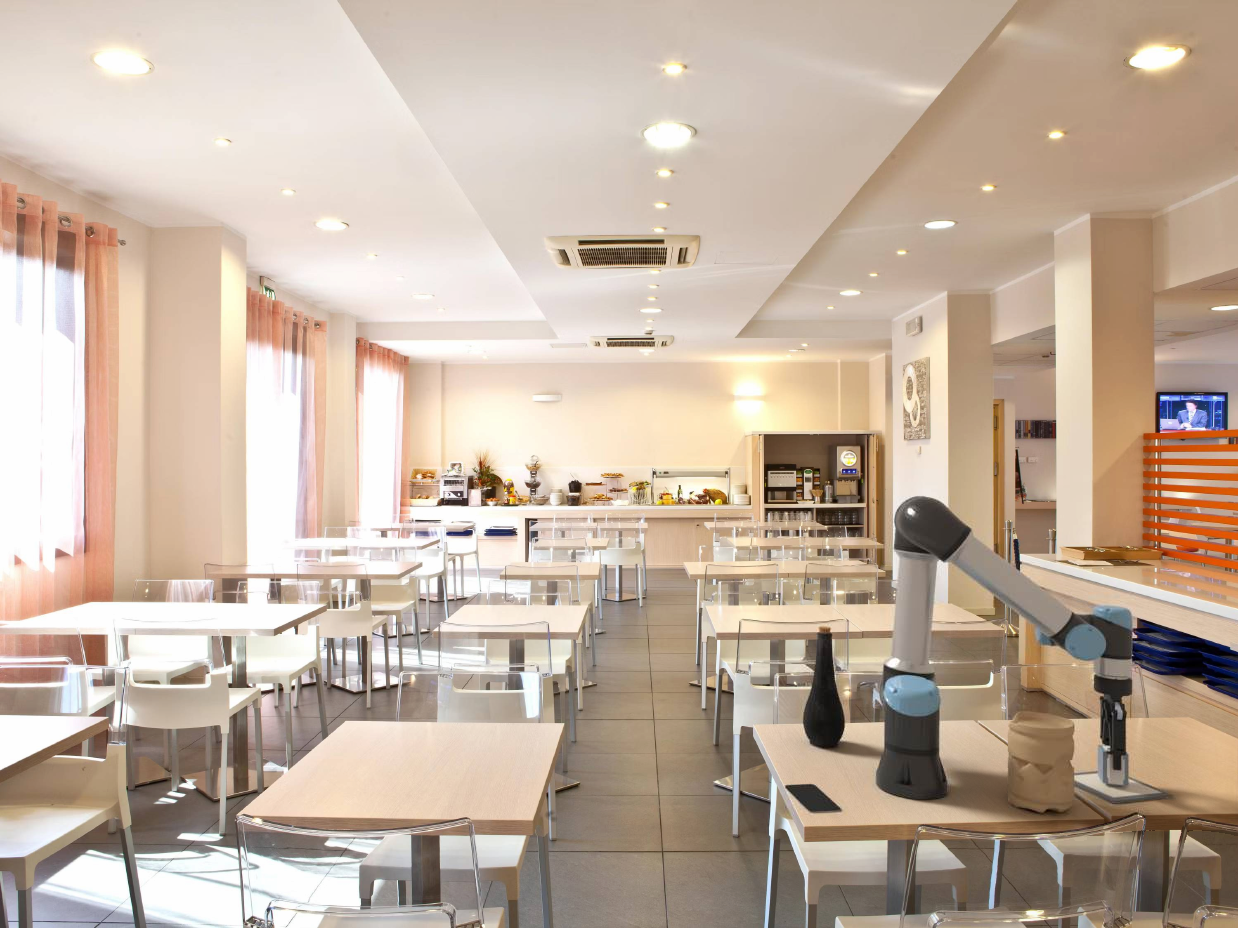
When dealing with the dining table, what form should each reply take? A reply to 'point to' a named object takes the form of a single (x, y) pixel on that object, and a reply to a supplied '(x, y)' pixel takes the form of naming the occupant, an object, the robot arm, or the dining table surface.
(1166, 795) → the grey bordered square plate
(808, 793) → the smartphone
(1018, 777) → the container
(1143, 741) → the dining table surface
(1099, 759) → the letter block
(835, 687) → the bottle
